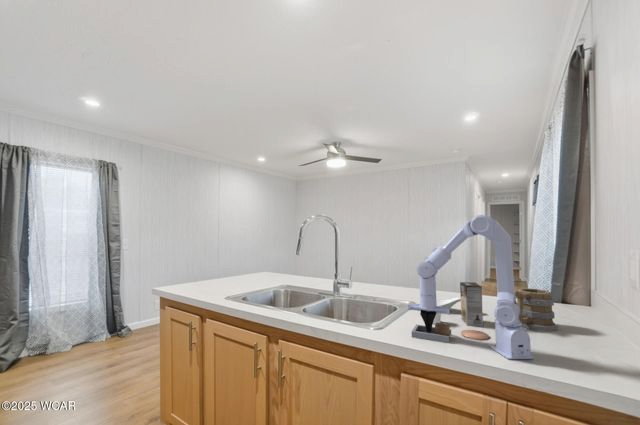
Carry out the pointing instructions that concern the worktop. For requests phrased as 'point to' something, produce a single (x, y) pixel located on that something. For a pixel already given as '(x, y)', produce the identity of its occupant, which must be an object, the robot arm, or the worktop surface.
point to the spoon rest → (448, 302)
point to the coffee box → (471, 303)
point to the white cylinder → (437, 317)
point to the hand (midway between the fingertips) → (429, 331)
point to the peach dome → (474, 334)
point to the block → (442, 329)
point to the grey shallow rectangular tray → (429, 334)
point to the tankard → (536, 309)
